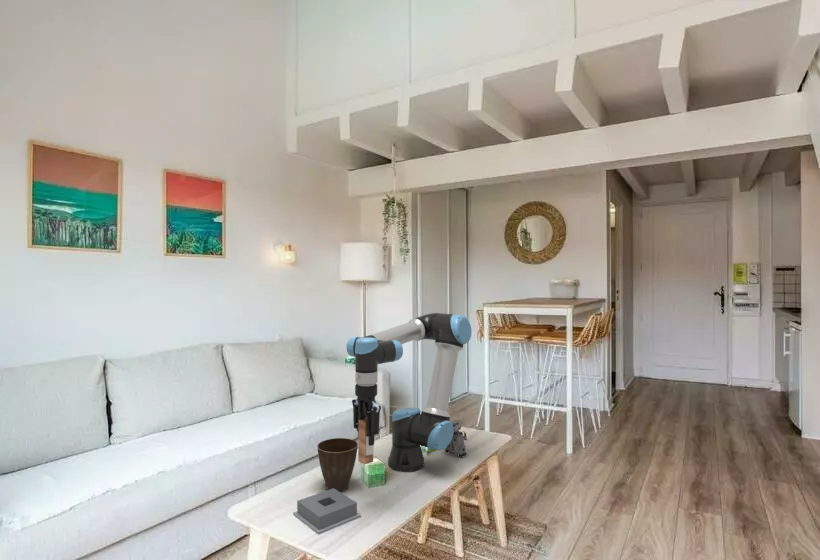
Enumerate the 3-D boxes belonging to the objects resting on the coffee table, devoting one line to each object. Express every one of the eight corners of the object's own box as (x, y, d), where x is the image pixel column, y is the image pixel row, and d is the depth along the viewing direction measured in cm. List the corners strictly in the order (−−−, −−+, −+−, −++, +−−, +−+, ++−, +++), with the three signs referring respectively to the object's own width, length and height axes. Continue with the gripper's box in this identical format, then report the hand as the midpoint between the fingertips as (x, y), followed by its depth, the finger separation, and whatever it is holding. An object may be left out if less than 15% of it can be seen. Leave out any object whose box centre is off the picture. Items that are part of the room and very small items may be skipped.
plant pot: (335, 475, 188) (335, 435, 187) (365, 484, 180) (365, 442, 180) (308, 490, 175) (308, 447, 174) (340, 500, 167) (340, 455, 167)
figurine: (436, 456, 208) (436, 421, 208) (453, 449, 216) (453, 416, 216) (452, 462, 202) (452, 426, 201) (469, 454, 210) (469, 420, 209)
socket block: (334, 499, 168) (334, 486, 168) (361, 516, 156) (361, 502, 156) (293, 514, 157) (293, 500, 157) (318, 534, 146) (318, 519, 145)
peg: (366, 458, 165) (367, 418, 165) (373, 461, 162) (373, 420, 162) (358, 461, 162) (358, 420, 162) (364, 464, 160) (364, 422, 160)
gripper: (343, 381, 166) (342, 448, 166) (372, 389, 153) (372, 462, 154) (360, 378, 171) (360, 443, 171) (390, 386, 158) (390, 456, 159)
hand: (365, 452), depth 162 cm, fingers closed on peg, 4 cm apart
